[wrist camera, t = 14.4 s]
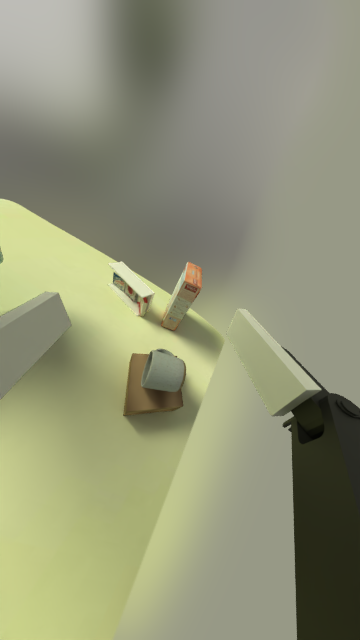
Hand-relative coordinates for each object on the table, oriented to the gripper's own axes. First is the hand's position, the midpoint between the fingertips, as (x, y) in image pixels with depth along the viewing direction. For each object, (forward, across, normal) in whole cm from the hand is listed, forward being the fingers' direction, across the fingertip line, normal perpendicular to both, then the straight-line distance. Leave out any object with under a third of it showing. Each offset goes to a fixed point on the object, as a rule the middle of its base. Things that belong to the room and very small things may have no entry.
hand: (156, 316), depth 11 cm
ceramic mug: (+11, +1, -24) cm, 26 cm away
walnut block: (+10, -1, -29) cm, 31 cm away
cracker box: (+37, +5, -25) cm, 44 cm away
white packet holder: (+40, -12, -20) cm, 46 cm away
